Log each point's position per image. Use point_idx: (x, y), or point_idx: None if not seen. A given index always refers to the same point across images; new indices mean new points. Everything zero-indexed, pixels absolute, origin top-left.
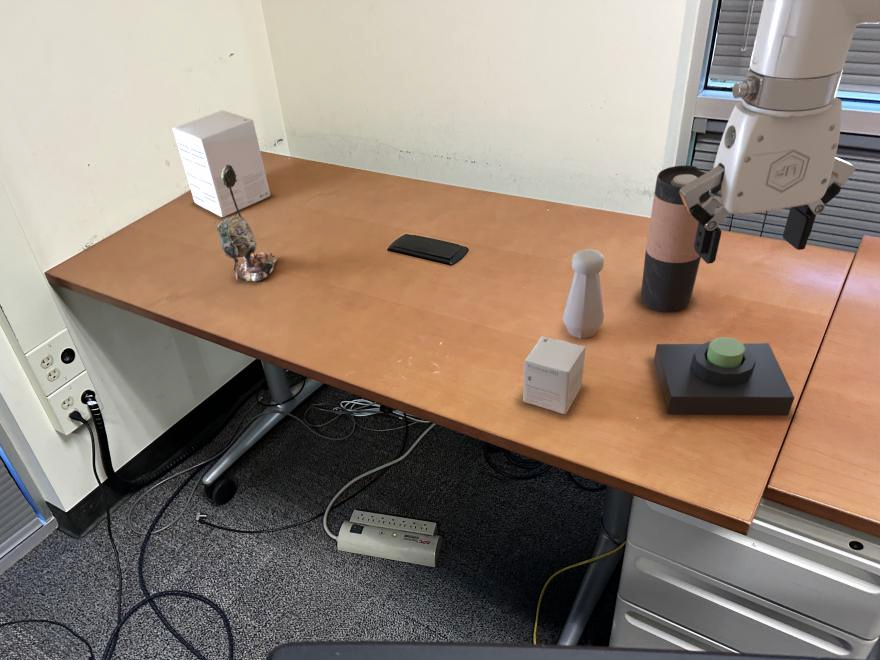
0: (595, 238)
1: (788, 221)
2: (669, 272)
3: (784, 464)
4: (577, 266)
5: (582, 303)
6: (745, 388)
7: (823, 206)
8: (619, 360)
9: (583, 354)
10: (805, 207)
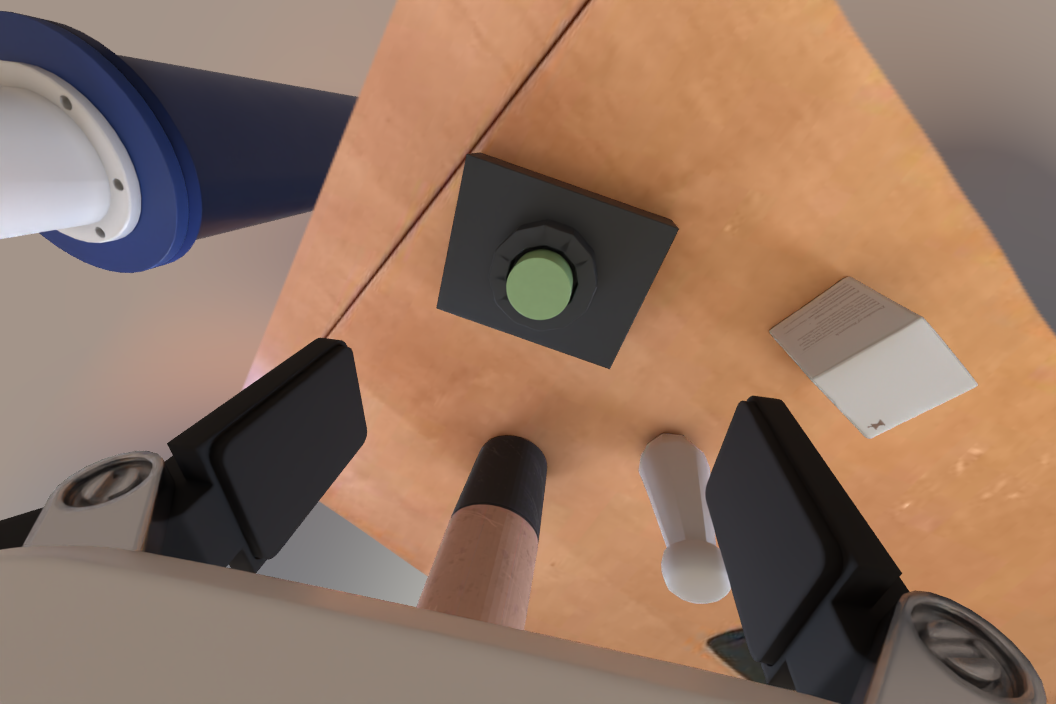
0: (532, 591)
1: (319, 488)
2: (519, 497)
3: (555, 15)
4: None
5: (700, 489)
6: (535, 207)
7: (66, 488)
8: (658, 371)
9: (819, 365)
10: (189, 527)
